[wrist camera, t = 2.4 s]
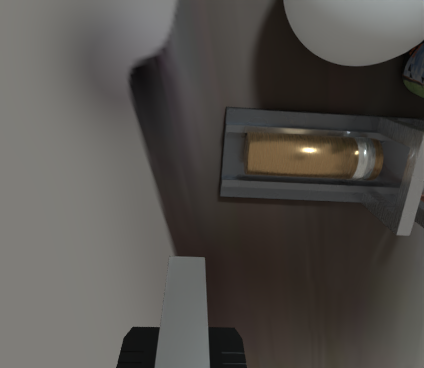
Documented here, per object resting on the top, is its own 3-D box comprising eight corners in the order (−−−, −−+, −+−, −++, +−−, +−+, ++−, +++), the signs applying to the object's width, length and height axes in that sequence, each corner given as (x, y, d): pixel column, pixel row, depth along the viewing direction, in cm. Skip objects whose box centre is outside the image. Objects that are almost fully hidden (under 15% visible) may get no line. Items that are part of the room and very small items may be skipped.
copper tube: (242, 176, 35) (249, 173, 31) (244, 134, 35) (251, 127, 31) (361, 181, 36) (383, 180, 32) (362, 141, 36) (384, 134, 32)
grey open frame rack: (226, 106, 34) (227, 109, 33) (452, 120, 36) (465, 123, 34) (219, 192, 38) (220, 199, 36) (428, 202, 39) (438, 208, 37)
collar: (379, 117, 34) (424, 132, 28) (391, 117, 35) (439, 133, 28) (360, 202, 38) (396, 235, 31) (371, 202, 38) (409, 235, 31)
